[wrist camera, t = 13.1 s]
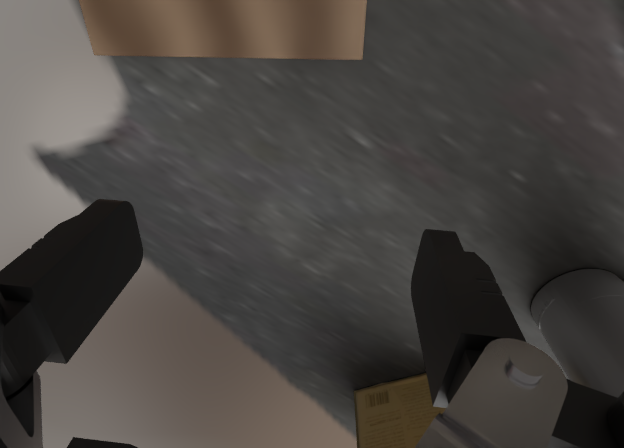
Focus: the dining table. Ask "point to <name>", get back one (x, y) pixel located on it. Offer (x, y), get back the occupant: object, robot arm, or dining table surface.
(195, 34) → the walnut board
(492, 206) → the dining table surface
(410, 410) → the food packaging
